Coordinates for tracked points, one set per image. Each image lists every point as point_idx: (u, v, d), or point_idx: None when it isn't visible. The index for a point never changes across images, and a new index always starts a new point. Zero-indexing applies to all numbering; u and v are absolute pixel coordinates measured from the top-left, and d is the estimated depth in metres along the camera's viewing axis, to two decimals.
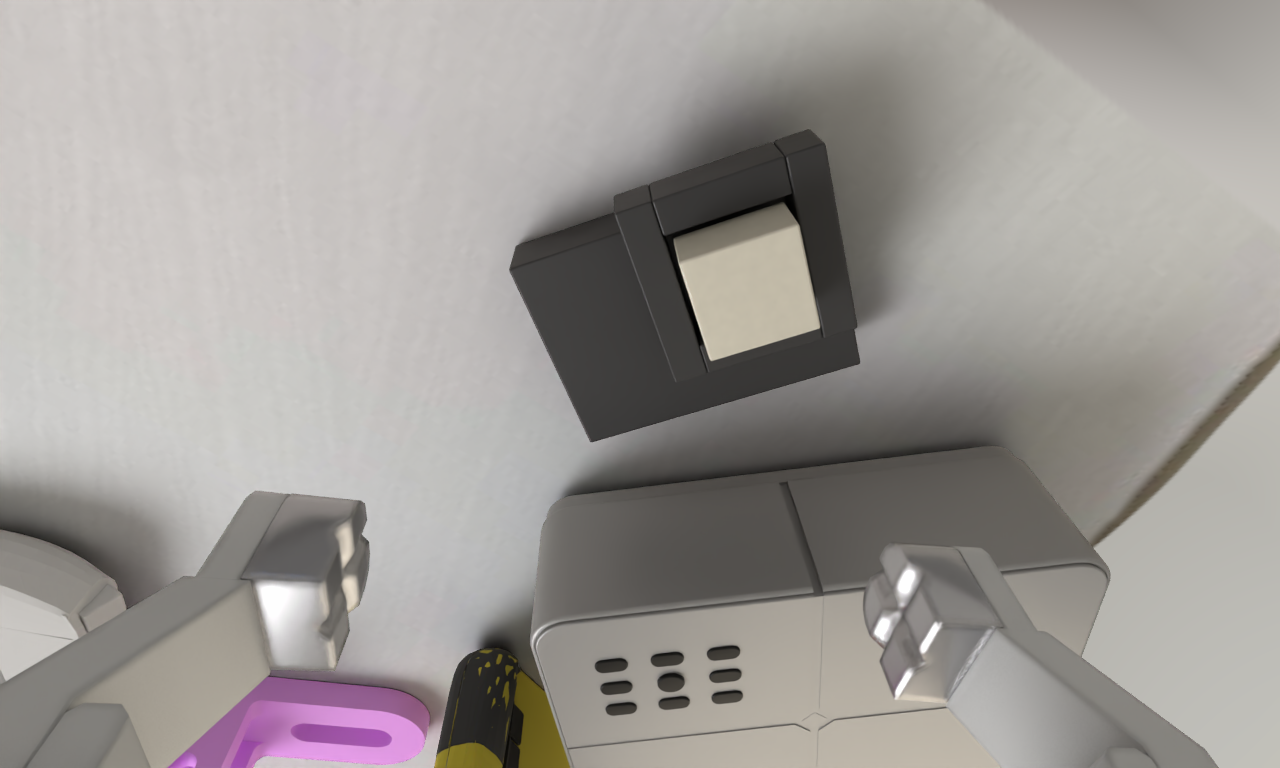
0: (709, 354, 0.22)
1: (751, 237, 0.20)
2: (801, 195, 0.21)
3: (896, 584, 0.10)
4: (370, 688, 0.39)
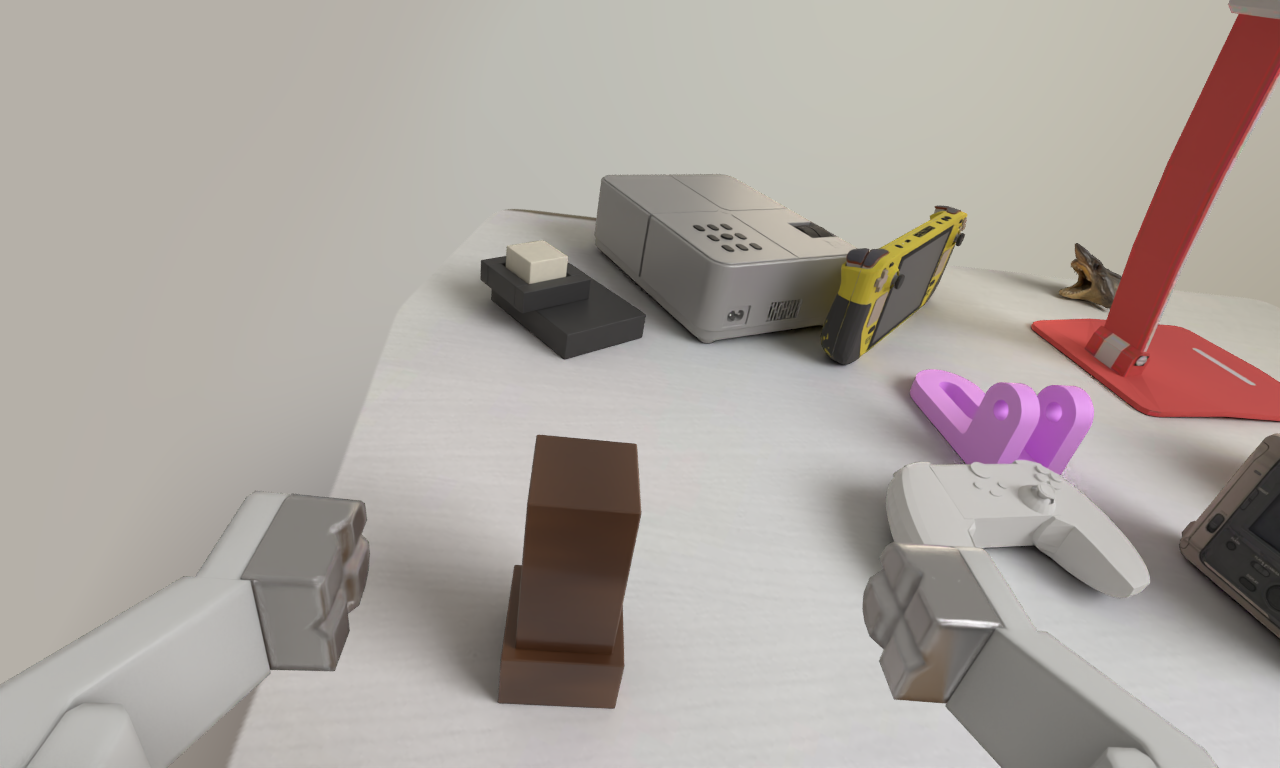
0: (565, 256, 0.56)
1: (515, 253, 0.55)
2: (500, 262, 0.57)
3: (896, 584, 0.10)
4: (918, 404, 0.55)
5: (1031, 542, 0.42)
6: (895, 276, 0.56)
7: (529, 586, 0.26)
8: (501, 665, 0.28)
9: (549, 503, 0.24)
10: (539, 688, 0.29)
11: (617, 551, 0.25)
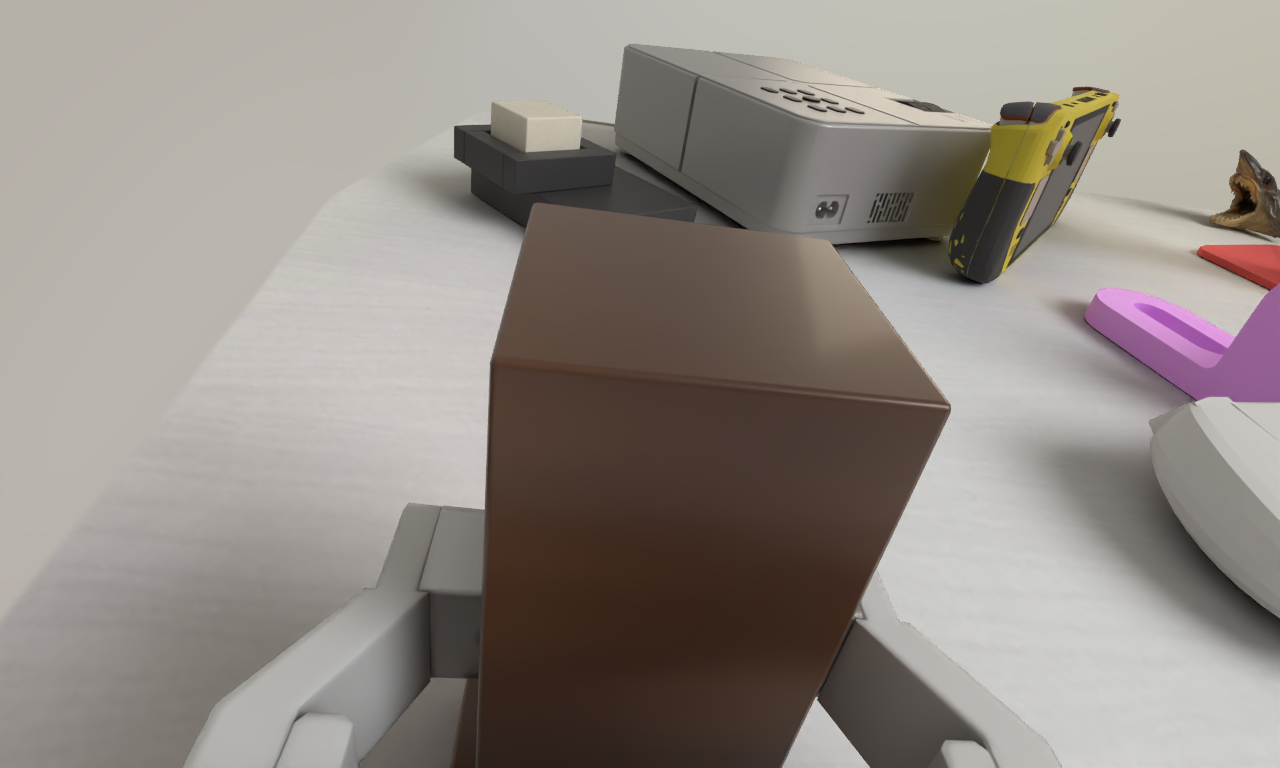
0: (578, 117, 0.37)
1: (504, 109, 0.37)
2: (483, 129, 0.39)
3: None
4: (1106, 334, 0.37)
5: None
6: (1068, 145, 0.38)
7: (509, 678, 0.08)
8: None
9: (584, 359, 0.06)
10: None
11: (825, 563, 0.07)
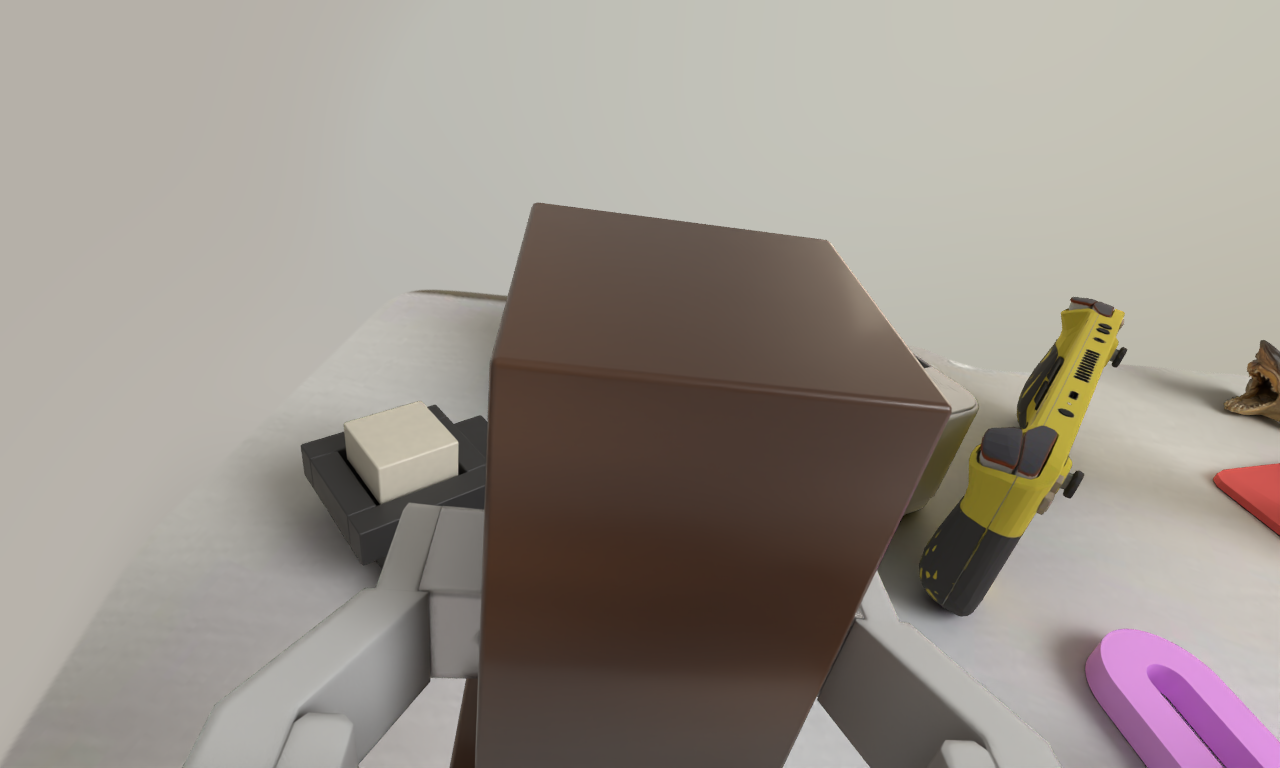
0: (452, 443, 0.30)
1: (355, 441, 0.29)
2: (338, 446, 0.31)
3: None
4: (1113, 718, 0.30)
5: None
6: (1066, 475, 0.30)
7: (508, 679, 0.08)
8: None
9: (584, 359, 0.06)
10: None
11: (826, 563, 0.07)
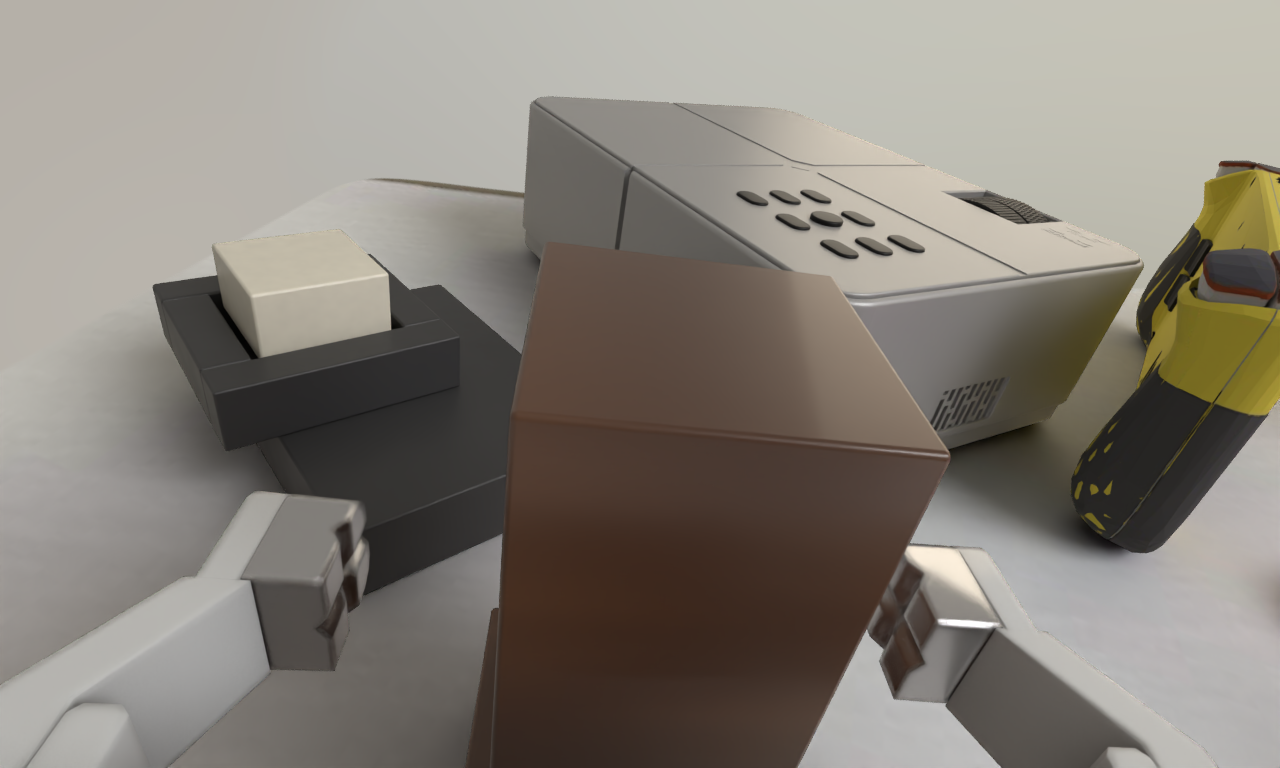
0: (379, 274, 0.19)
1: (225, 266, 0.19)
2: (211, 289, 0.20)
3: (896, 584, 0.10)
4: None
5: None
6: None
7: (522, 707, 0.08)
8: None
9: (599, 412, 0.06)
10: None
11: (829, 599, 0.07)
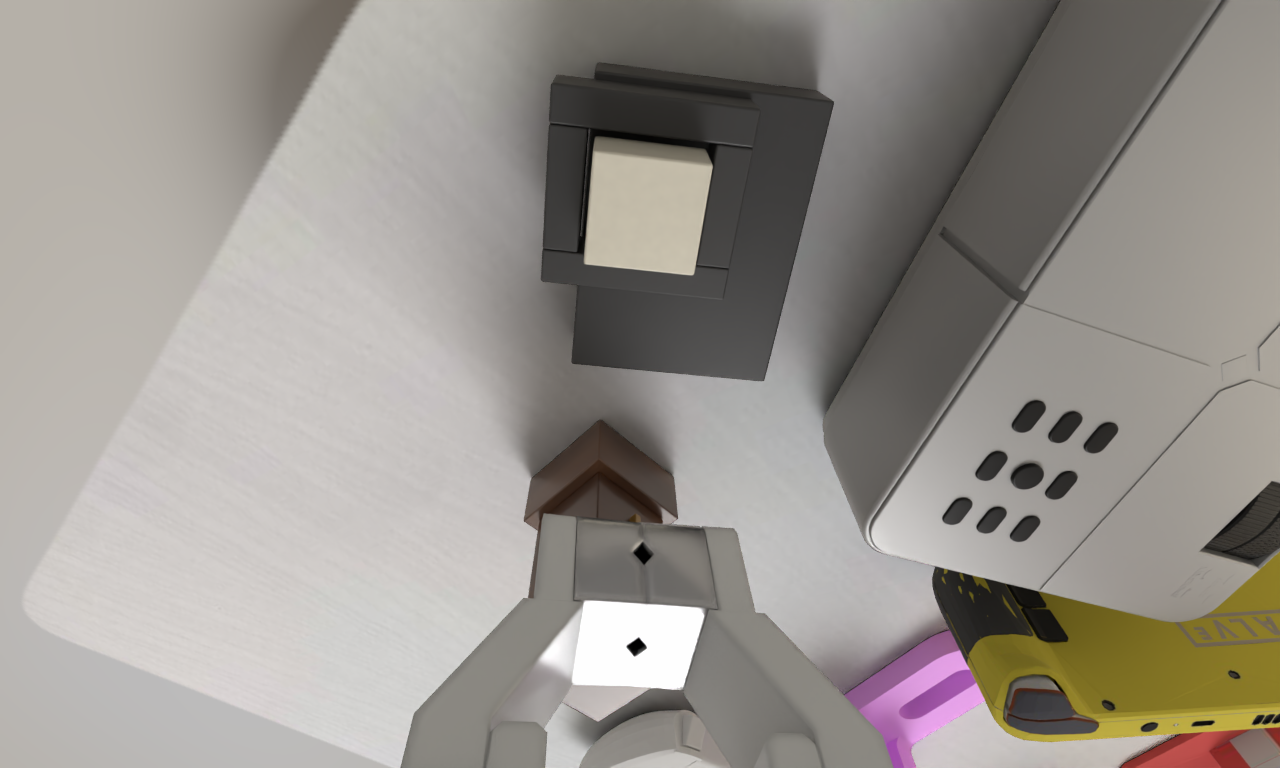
0: (685, 274, 0.22)
1: (589, 195, 0.21)
2: (591, 121, 0.21)
3: None
4: (915, 648, 0.41)
5: None
6: None
7: None
8: (525, 515, 0.32)
9: None
10: None
11: None
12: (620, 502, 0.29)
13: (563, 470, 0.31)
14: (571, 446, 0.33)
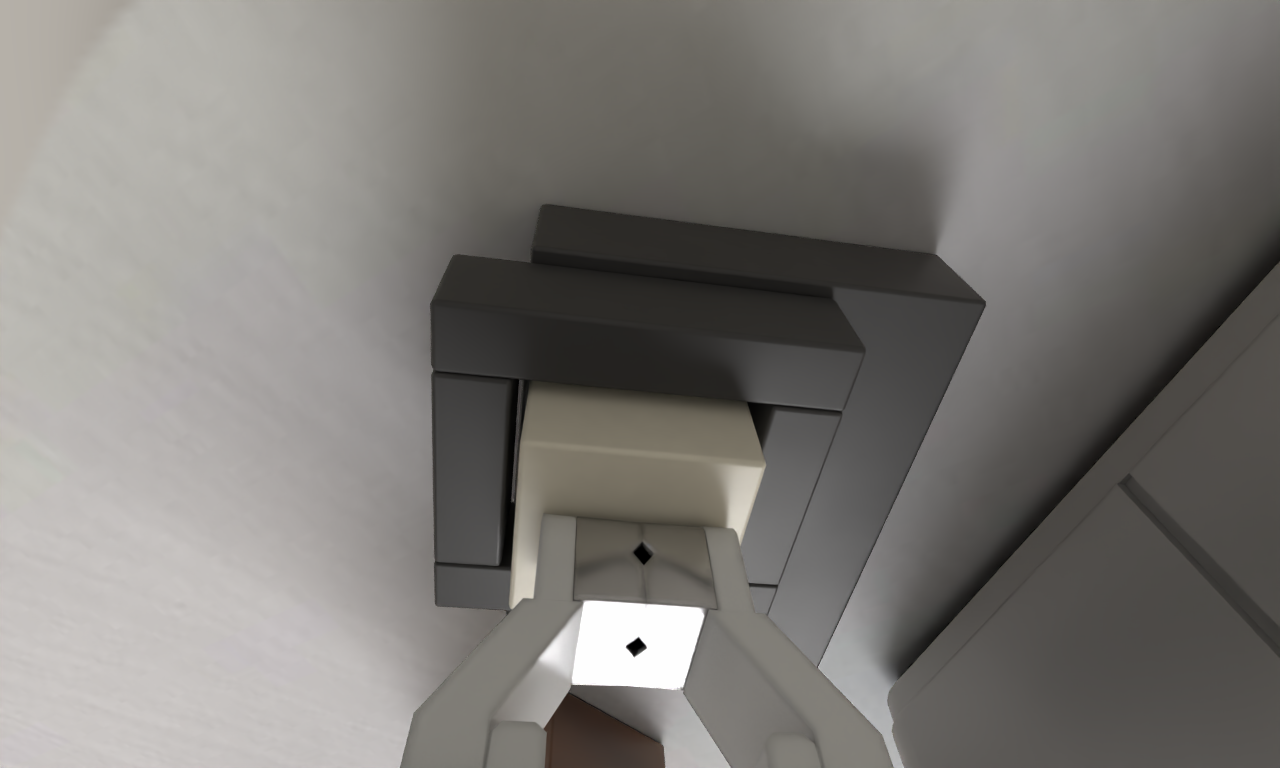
0: None
1: (515, 509, 0.10)
2: (520, 368, 0.10)
3: None
4: None
5: None
6: None
7: None
8: None
9: None
10: None
11: None
12: None
13: None
14: None
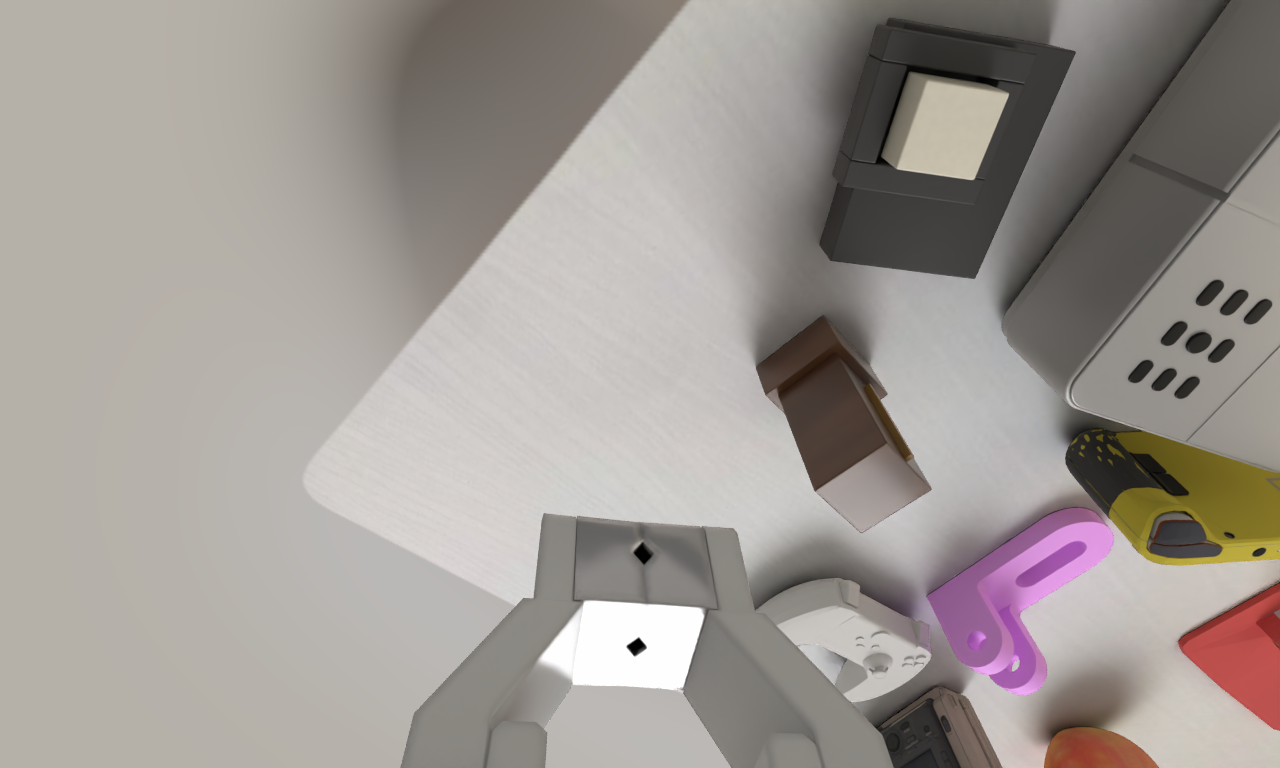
0: (968, 178, 0.30)
1: (913, 115, 0.28)
2: (913, 59, 0.29)
3: None
4: (1033, 525, 0.49)
5: None
6: None
7: None
8: (764, 391, 0.39)
9: (825, 497, 0.32)
10: None
11: None
12: (855, 375, 0.37)
13: (796, 354, 0.39)
14: (796, 337, 0.40)
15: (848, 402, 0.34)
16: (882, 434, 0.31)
